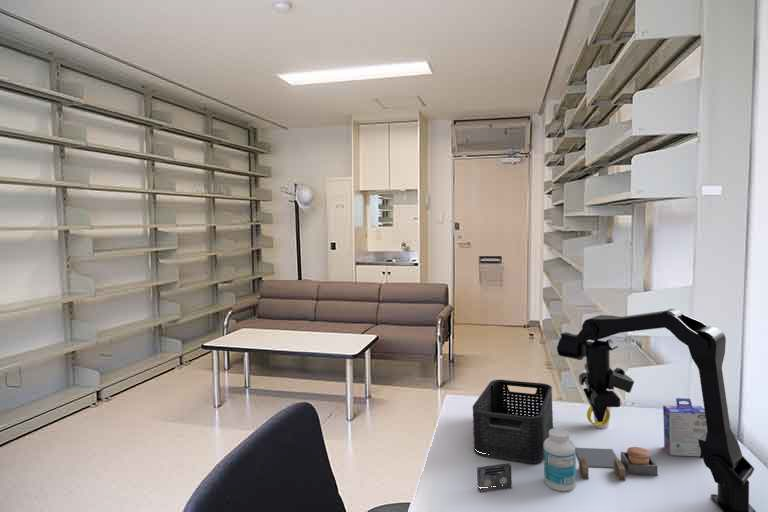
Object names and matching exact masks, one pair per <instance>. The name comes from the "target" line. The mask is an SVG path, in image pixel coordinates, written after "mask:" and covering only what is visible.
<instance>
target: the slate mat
mask: <svg viewBox="0 0 768 512" xmlns="http://www.w3.org/2000/svg"><path fill="white" fill-rule="evenodd" d="M575 455H576V456H577V457H578V458H577V459H579V458H584V459H585V461H586V464H587V466H588V468H602V469H603V468H606V469H614V459H619V458H618V456H617V455H616V453H615V451H614V450H613V448H599V447H597V448H596V447H595V448H594V447H575Z"/></svg>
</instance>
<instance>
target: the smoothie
mask: <svg viewBox="0 0 768 512" xmlns="http://www.w3.org/2000/svg"><path fill="white" fill-rule="evenodd" d="M611 408H612V407H608V409H609V411H610V412H611V410H612V409H611ZM605 417H606V412H605V415H604V418H603V420H604V419H605ZM593 420H594V423H597V422H598V421H597V418H596V417H595V415H594V414H593ZM609 425H610V420H609V421H608V422H607V423H606V424H605V425H598V426H595V428H597V429H602V430H606V429H608V428H609Z"/></svg>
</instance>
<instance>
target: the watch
mask: <svg viewBox="0 0 768 512" xmlns="http://www.w3.org/2000/svg"><path fill="white" fill-rule="evenodd" d="M592 413H593V408H592V406H590V405H589V407H588V410H587V412H586V417H587V420H588V422H589V423H591V424H592V425H593V426H595V427H596V426H598V425H605V424H606V423H607V422H608V421H609V422H610V419H611V418H610V417H611V410H610V411H609V409H608V407H607V409H606V417H605V419H604V420H603V421H602V422H597V423H595V422H593V419H592Z"/></svg>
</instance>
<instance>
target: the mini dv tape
mask: <svg viewBox="0 0 768 512" xmlns="http://www.w3.org/2000/svg"><path fill="white" fill-rule="evenodd" d="M476 473H477V474H476V475H477V477H476V478H477V480H476V481H477V490H478V492H479V494H480V493H487V492H495V491H503V490H504V491H505V490H509V489H510V490H511V489H512V488H513V483H512V465H511V464H510V462H508V463H500V464H493V465H484V466H477V467H476ZM502 485H503V486H502ZM478 486H479V487H488V488H481V489H480V488H479V487H478ZM491 486H492V487H491ZM493 486H496V487H493Z"/></svg>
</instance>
